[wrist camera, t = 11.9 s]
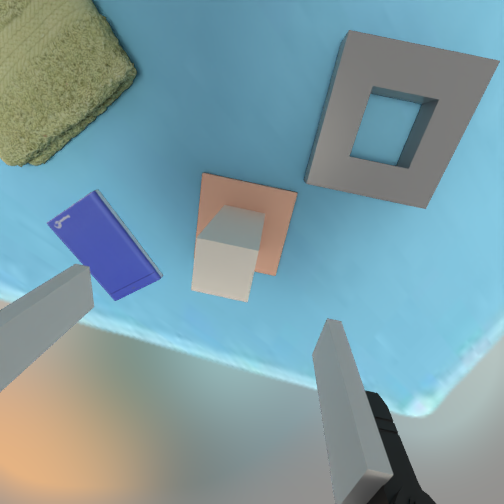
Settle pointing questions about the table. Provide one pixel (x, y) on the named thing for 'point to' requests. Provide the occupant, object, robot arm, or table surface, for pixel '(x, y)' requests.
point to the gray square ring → (405, 88)
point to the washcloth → (54, 75)
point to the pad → (256, 199)
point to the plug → (228, 253)
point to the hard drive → (105, 246)
